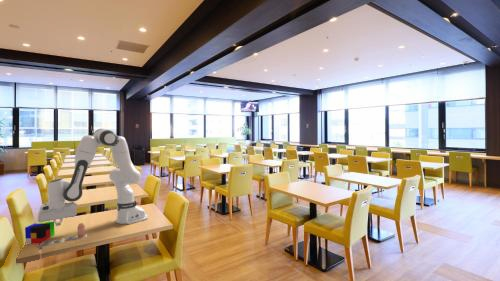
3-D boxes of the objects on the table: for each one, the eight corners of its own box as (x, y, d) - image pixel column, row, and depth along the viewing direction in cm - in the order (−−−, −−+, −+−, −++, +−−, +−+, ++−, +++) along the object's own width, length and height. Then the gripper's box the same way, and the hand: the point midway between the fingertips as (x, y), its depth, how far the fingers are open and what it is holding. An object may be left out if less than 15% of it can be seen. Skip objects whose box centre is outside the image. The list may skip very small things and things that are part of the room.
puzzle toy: (25, 243, 159) (25, 227, 159) (39, 236, 169) (38, 221, 169) (42, 243, 159) (41, 227, 158) (54, 236, 169) (54, 221, 168)
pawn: (85, 234, 170) (84, 221, 170) (85, 236, 167) (85, 223, 167) (77, 235, 168) (77, 223, 167) (78, 237, 165) (77, 224, 164)
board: (87, 234, 173) (87, 232, 173) (89, 238, 167) (89, 236, 167) (38, 245, 157) (38, 242, 157) (38, 250, 151) (38, 247, 151)
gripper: (76, 200, 178) (76, 220, 178) (37, 206, 165) (38, 227, 166) (77, 202, 173) (78, 223, 173) (36, 208, 160) (38, 231, 161)
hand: (58, 225), depth 169 cm, fingers closed
